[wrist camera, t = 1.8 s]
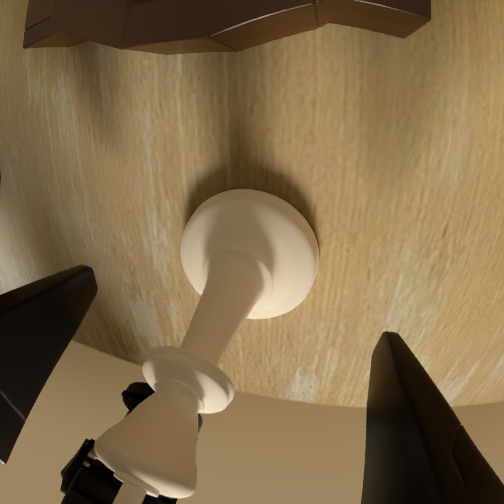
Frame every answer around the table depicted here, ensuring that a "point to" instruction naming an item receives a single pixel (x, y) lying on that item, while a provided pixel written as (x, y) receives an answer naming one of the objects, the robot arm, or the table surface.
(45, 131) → the table surface
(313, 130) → the table surface
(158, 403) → the chess piece
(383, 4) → the holder
